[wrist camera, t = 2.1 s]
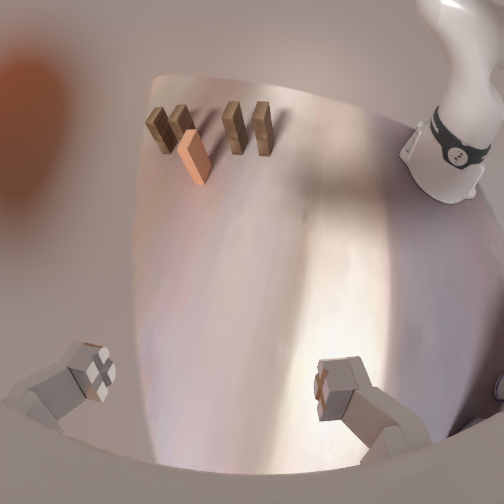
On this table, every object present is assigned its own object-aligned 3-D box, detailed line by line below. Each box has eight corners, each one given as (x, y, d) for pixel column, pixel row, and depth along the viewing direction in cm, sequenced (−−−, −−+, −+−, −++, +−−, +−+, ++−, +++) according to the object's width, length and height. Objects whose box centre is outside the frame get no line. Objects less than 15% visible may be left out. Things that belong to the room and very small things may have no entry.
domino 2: (199, 138, 55) (185, 104, 46) (192, 153, 54) (176, 119, 45) (191, 138, 56) (177, 105, 47) (184, 153, 54) (167, 120, 45)
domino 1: (178, 138, 57) (162, 106, 48) (170, 153, 55) (152, 121, 46) (171, 139, 57) (154, 107, 48) (163, 154, 55) (144, 122, 46)
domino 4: (247, 138, 53) (239, 101, 44) (242, 154, 51) (232, 117, 42) (238, 138, 54) (228, 101, 44) (232, 154, 52) (221, 117, 43)
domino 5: (273, 139, 52) (268, 101, 43) (269, 156, 50) (263, 117, 41) (264, 139, 52) (257, 101, 43) (259, 155, 51) (252, 117, 42)
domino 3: (211, 165, 51) (196, 129, 42) (204, 184, 50) (187, 148, 41) (202, 165, 52) (186, 129, 43) (195, 184, 50) (176, 149, 41)
